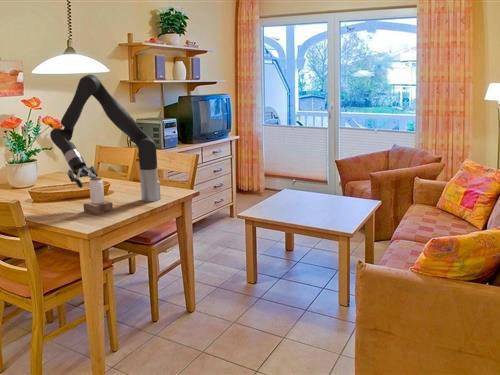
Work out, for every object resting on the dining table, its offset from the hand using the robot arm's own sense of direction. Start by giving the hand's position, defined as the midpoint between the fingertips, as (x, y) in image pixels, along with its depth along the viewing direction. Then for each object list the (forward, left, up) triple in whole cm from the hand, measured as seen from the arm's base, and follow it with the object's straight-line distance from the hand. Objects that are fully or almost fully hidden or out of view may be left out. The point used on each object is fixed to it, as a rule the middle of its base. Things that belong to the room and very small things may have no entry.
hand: (89, 185), depth 241 cm
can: (0, +6, -8) cm, 10 cm away
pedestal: (0, +6, -12) cm, 14 cm away
